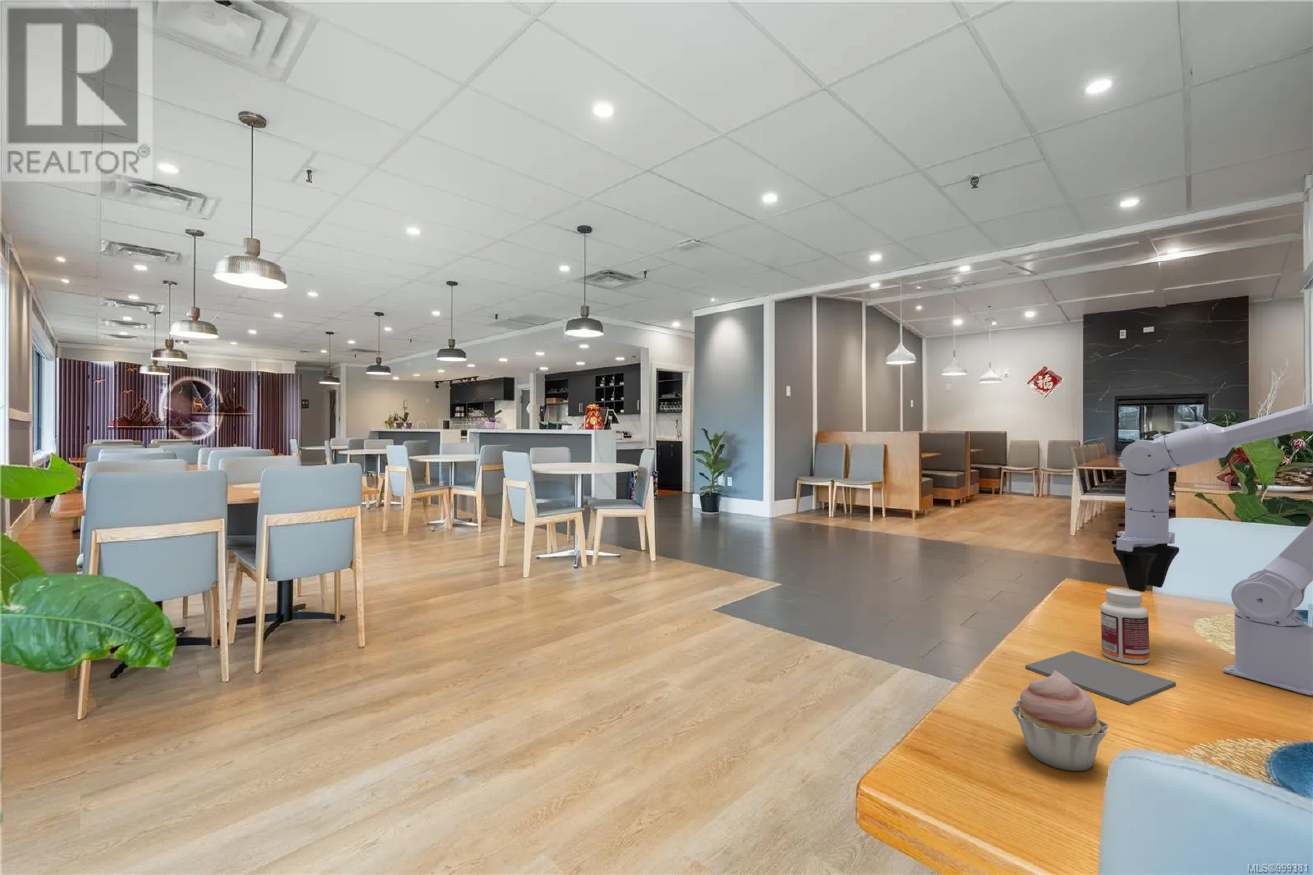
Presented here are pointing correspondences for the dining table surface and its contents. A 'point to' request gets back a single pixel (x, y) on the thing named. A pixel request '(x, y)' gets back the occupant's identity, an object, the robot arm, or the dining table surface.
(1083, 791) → the dining table surface
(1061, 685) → the cupcake
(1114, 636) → the pill bottle
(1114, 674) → the mat
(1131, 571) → the robot arm
